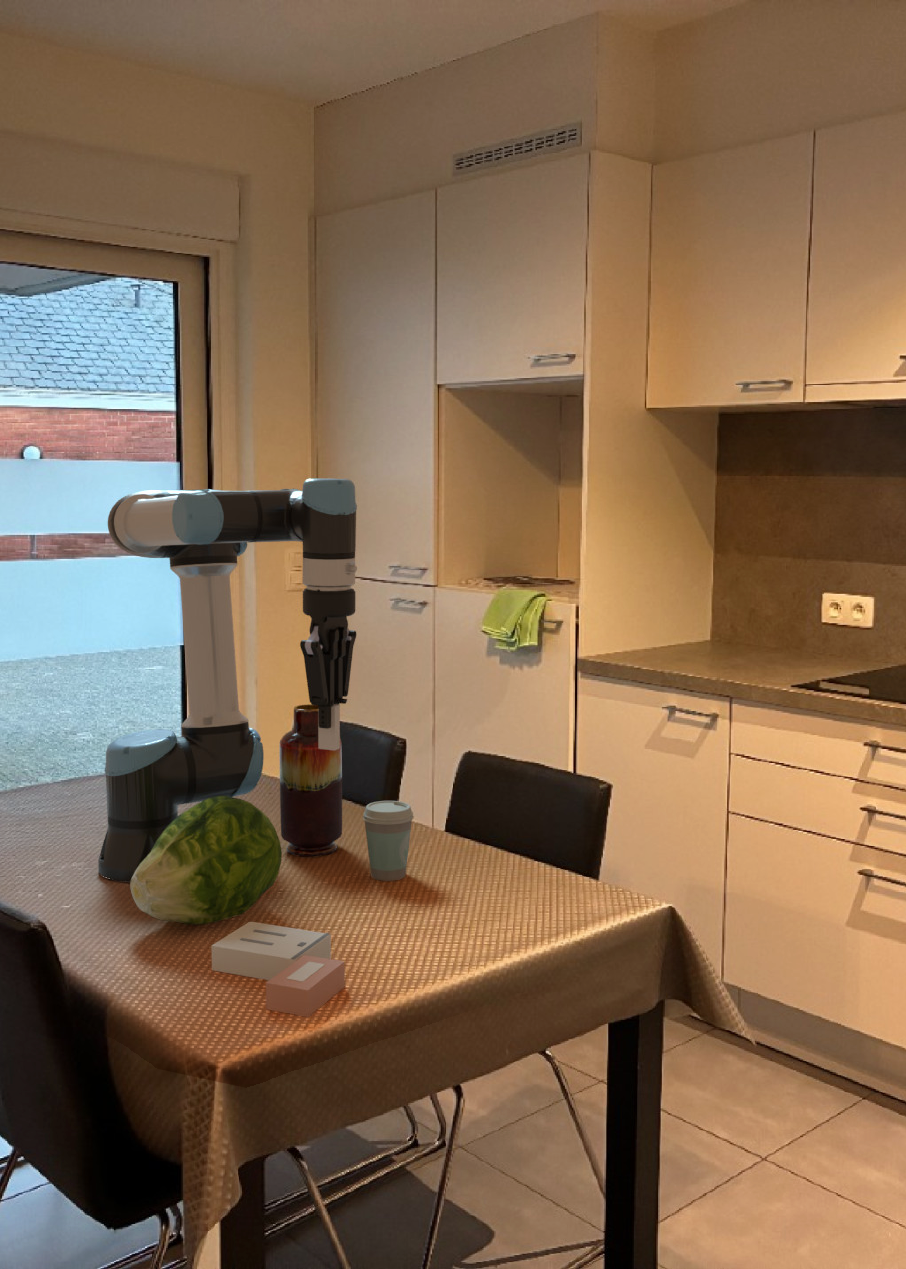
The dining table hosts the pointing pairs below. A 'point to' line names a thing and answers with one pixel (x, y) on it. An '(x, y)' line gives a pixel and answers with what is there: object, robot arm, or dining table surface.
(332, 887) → the dining table surface
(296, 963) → the stub
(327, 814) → the vase
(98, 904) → the dining table surface
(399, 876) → the coffee cup
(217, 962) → the two-slot toaster
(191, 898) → the lettuce
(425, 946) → the dining table surface
